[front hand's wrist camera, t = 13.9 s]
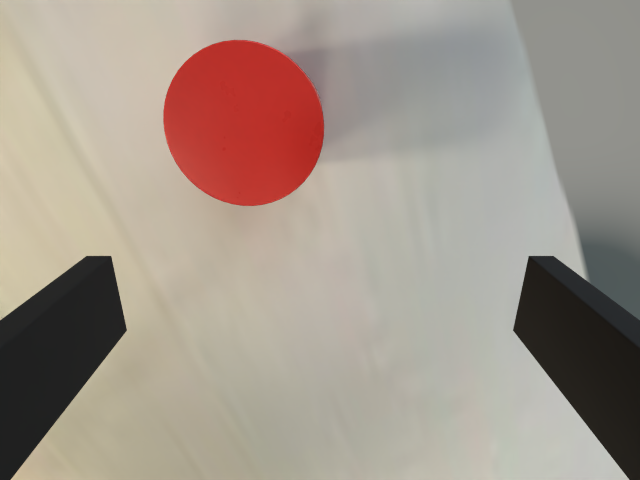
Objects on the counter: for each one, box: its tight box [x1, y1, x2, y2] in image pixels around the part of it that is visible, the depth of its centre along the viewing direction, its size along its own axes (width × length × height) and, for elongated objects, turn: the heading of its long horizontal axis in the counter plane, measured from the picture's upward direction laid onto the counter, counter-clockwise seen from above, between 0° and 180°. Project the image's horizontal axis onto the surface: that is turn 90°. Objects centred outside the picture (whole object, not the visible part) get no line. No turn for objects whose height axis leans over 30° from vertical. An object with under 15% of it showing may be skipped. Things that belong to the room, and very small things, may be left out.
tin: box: [164, 40, 324, 206], centre depth 26 cm, size 8×8×11 cm
